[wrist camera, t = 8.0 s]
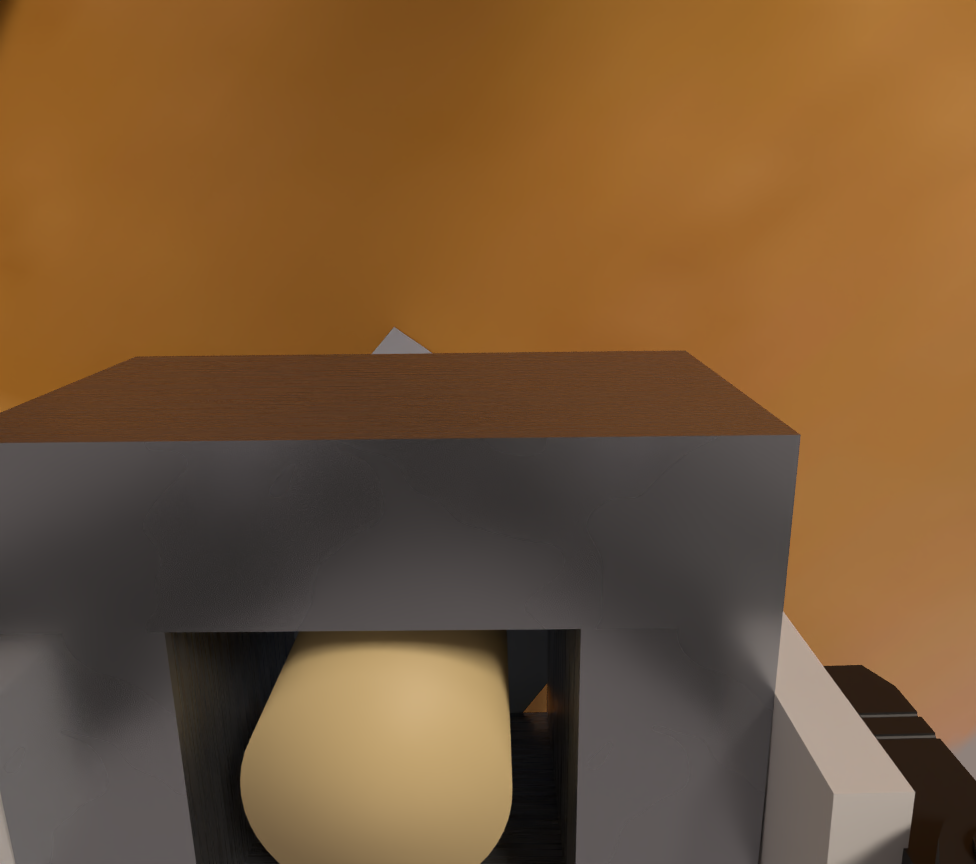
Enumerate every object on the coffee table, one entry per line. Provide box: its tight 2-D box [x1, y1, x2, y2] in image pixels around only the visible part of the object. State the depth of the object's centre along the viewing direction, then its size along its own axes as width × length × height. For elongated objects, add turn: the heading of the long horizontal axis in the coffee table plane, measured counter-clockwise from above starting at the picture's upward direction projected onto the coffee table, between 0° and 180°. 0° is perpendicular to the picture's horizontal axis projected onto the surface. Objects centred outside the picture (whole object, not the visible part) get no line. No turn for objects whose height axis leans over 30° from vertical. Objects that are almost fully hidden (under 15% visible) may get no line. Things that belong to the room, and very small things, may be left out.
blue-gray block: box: [240, 327, 548, 864], centre depth 14 cm, size 6×6×9 cm
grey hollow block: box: [0, 351, 800, 864], centre depth 12 cm, size 9×9×5 cm
